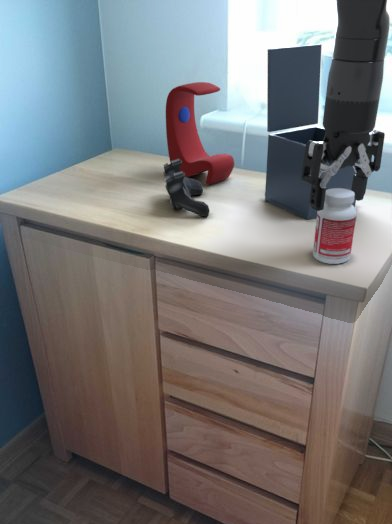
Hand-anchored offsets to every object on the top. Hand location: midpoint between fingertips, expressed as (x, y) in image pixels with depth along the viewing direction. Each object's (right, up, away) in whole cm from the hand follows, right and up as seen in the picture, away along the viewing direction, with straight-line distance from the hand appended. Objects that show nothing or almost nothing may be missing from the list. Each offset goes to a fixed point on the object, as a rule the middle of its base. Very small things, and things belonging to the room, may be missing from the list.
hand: (337, 204), depth 89 cm
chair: (-22, +17, +43) cm, 51 cm away
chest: (+1, +7, +27) cm, 27 cm away
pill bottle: (0, -8, +5) cm, 9 cm away
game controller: (-25, +7, +27) cm, 37 cm away
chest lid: (-3, +28, +20) cm, 34 cm away
